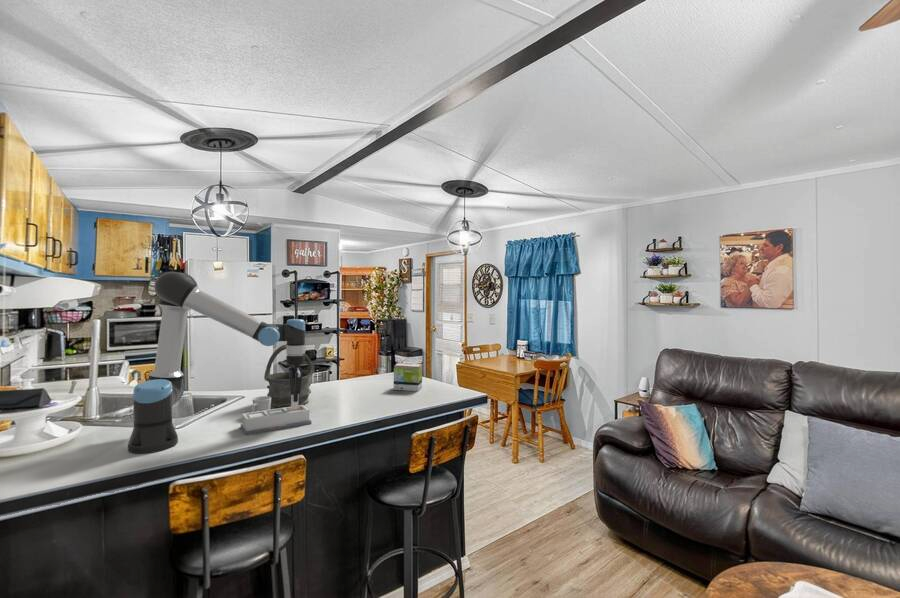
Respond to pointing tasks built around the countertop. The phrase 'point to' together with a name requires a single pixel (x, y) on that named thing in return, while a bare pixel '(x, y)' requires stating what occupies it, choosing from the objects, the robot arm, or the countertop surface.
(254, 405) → the cup
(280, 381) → the dark handled basket
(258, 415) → the key cream
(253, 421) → the grey compartment tray
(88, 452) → the countertop surface
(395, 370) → the tea box
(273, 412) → the key sage
